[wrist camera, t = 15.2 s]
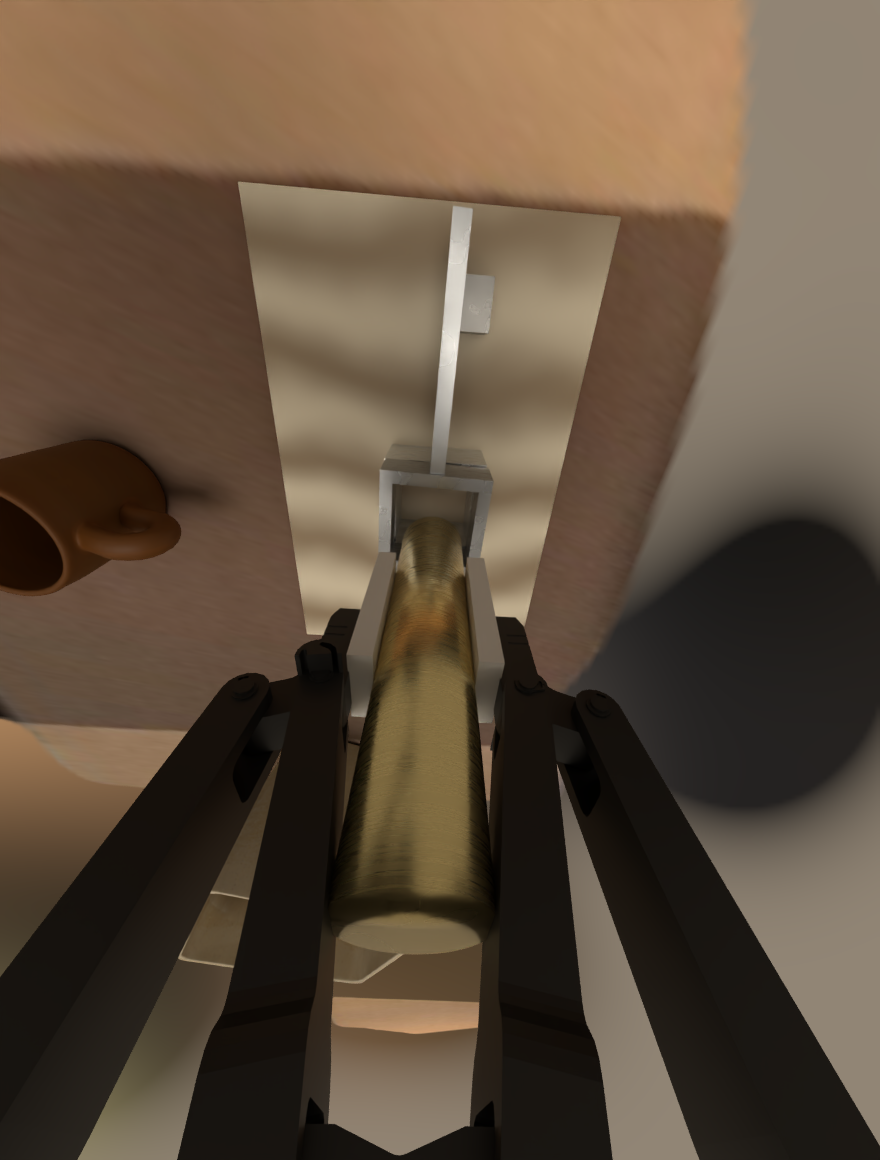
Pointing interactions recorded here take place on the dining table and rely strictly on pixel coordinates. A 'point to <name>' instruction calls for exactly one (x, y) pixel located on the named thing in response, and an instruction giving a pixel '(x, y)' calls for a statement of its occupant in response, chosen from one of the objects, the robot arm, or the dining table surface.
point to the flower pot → (231, 891)
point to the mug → (77, 515)
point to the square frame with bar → (442, 419)
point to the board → (417, 369)
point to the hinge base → (472, 322)
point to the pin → (419, 772)
